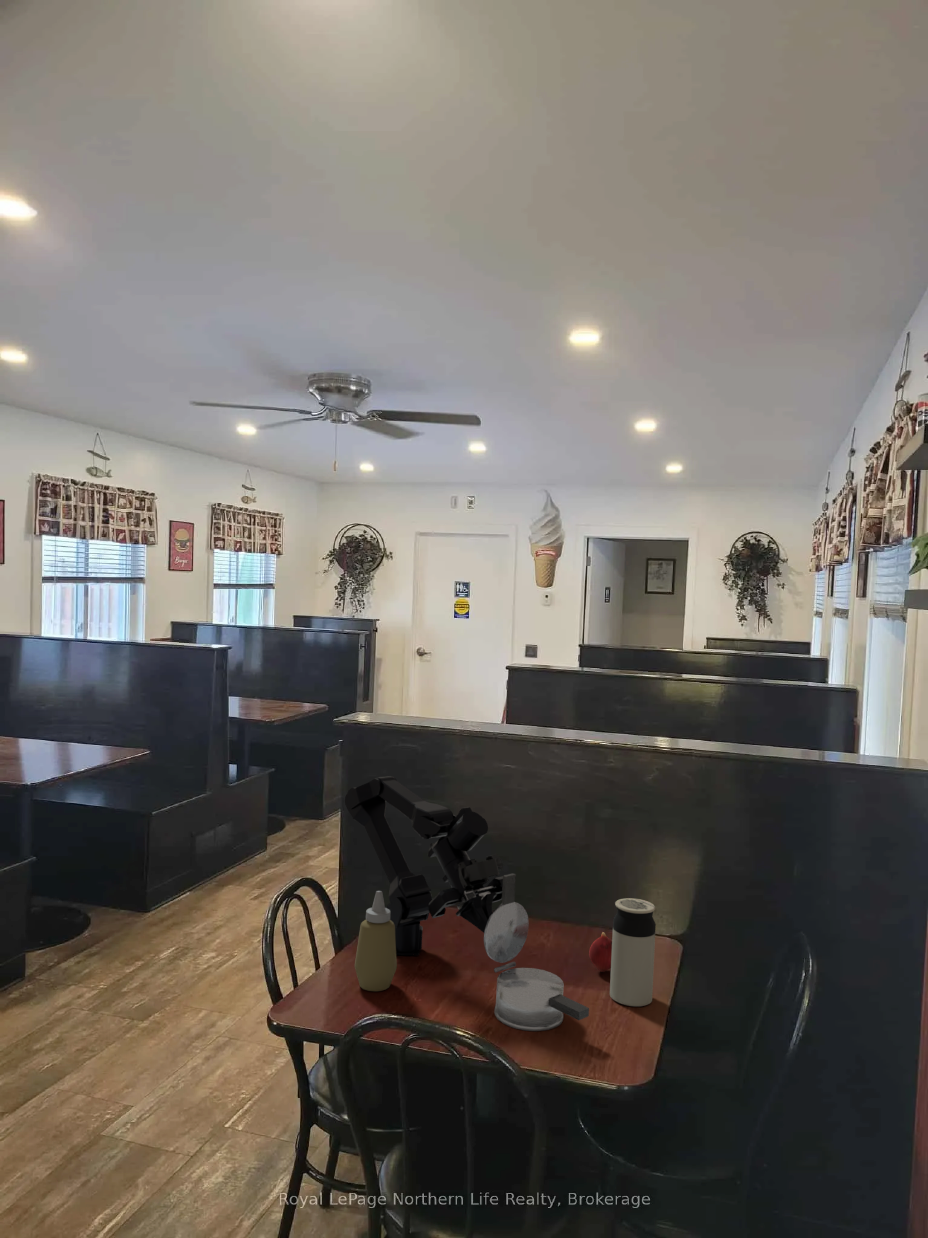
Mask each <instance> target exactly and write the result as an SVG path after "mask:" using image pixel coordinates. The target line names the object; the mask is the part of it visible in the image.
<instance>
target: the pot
mask: <svg viewBox="0 0 928 1238" xmlns="http://www.w3.org/2000/svg"><path fill="white" fill-rule="evenodd" d="M564 1014H565V1015H567V1016H569V1017H571V1018H573V1019H575V1020H576V1021H581V1020H583V1019H585V1018H588V1017H589V1016H590V1008H589V1007H588V1006H587V1005H586V1006H585V1005H584V1004H581V1003H579V1002H577V1001H575V1000H573V999H571V998H569V997H566V996H564V981H563V980H562V979H561V977H559V975H557V974H555V973H553V972H550V971H547V970H545V969H539V968H534V967H516V968H515V967H514V968H508V969H505V971H504V970H503V971H501V972H500V973H499V974H498V976H497V979H496V998H495V1006H494V1016H495V1018H496V1019H497V1020H498V1021H499V1022H500V1023H502V1024H503V1025H505V1026H507V1027H510V1028H511V1029H516V1030H521V1031H527V1032H543V1031H548V1030H552V1029H555V1028H557V1027H559V1026H560V1025H561V1024H562V1022H564V1021H563V1020H564Z"/></svg>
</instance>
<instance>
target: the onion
mask: <svg viewBox="0 0 928 1238" xmlns="http://www.w3.org/2000/svg"><path fill="white" fill-rule="evenodd" d="M600 935H601V936H599V937H597V938H596V939H595V940H594V941H593V942H592V943H591V945H590V947H589V950H588V951H589V952H588V956H589V960H590V961H591V962H590V963H592V964H593V966H594V967H595V968H596V969H597V970H598V971H599V972H601V973H605V972H606V971H608V970H611V956H612V939H611V938H609V937H608V936H607V934H606V933H605V932H603V931H602V932H601V934H600Z"/></svg>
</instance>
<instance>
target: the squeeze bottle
mask: <svg viewBox="0 0 928 1238" xmlns="http://www.w3.org/2000/svg"><path fill="white" fill-rule="evenodd" d="M373 898H374V899H373V903H372V905H371V906H372V907H369V908H367V909H366V911H365V919H364V920H363V921H362V922H360V927H359V933H358V941H357V947H356V953H355V960H354V969H355V973H356V978H357V979H358V980H357V981H358V984H359V987H360V988H361V989H362V990H365V991H368V992H382V991H384V990H387V989H389V988H390V987H391V983H392V981H393V979H394V976H395V974H396V971H397V968H398V966H397V964H398V963H397V955H396V941H395V925H394V923H393V922H392V921H391V920H390V910H389V909H387V908H386V906H385V900H384V895H383V891H382V890H376V891H375V895H374V897H373Z"/></svg>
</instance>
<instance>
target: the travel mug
mask: <svg viewBox="0 0 928 1238" xmlns="http://www.w3.org/2000/svg"><path fill="white" fill-rule="evenodd" d="M614 904H615V907H616V913H615V915H614V917H613V918H612V919H613V920H612V937H611V938H612V939H611V940H612V956H611V969H610V983H609V996H610V998H611V999H612V1000H613V1001H615V1002H616V1003H618V1004H620V1005H623V1006H628V1007H637V1008H638V1007H643V1006H647V1005H649V1004H651V1003H652V1002H653V990H654V989H653V987H654V969H655V968H654V967H655V946H656V945H655V944H656V927H657V926H656V925H657V923H656V920H655V919H654V917H653V914H654V911H655V910H656V906H655V905H654V904H653V903H652V902H650V901H647V900H644V899H640V898H631V897H630V898H629V897H628V898H626V897H625V898H620V899H618V900H616V901H615V902H614Z"/></svg>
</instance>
